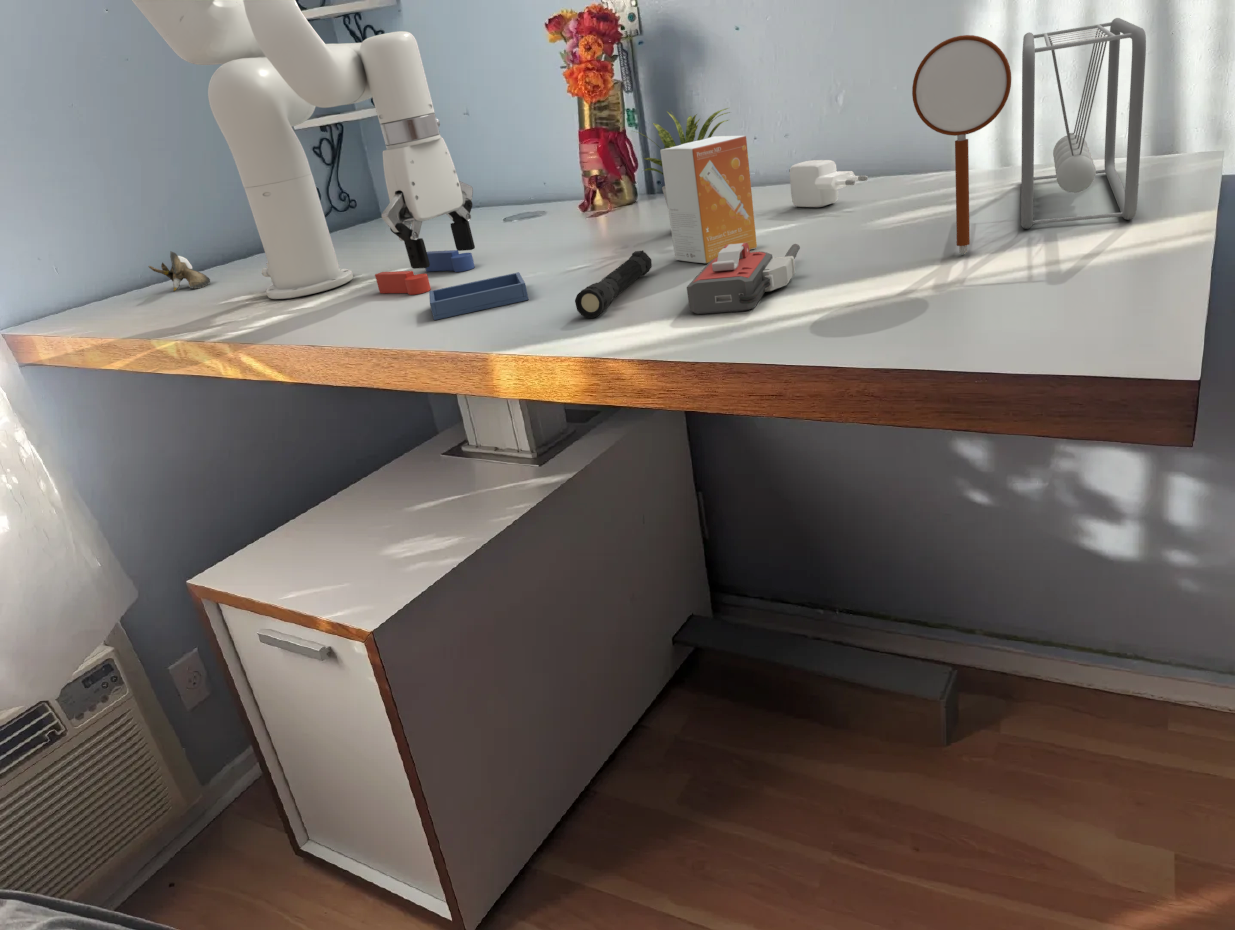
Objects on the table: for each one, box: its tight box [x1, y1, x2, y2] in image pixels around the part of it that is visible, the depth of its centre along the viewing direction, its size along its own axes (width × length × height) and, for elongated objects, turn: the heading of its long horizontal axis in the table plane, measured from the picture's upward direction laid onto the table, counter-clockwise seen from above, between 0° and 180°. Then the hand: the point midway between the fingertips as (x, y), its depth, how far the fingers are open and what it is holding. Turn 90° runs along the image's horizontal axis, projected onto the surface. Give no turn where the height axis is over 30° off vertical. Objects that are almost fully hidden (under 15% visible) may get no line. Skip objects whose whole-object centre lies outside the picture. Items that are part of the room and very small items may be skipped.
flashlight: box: [574, 250, 653, 319], centre depth 100 cm, size 3×16×3 cm, turn 160°
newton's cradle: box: [1020, 17, 1147, 230], centre depth 102 cm, size 30×10×18 cm, turn 158°
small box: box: [659, 135, 758, 264], centre depth 108 cm, size 8×6×13 cm
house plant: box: [632, 107, 731, 208], centre depth 125 cm, size 14×14×16 cm
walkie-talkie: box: [686, 243, 801, 315], centre depth 93 cm, size 9×4×20 cm
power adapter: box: [789, 159, 869, 208], centre depth 126 cm, size 11×5×6 cm, turn 37°
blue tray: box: [428, 271, 529, 321], centre depth 108 cm, size 11×7×2 cm, turn 102°
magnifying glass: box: [911, 34, 1012, 256], centre depth 88 cm, size 9×2×20 cm, turn 65°
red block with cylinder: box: [374, 270, 432, 296], centre depth 122 cm, size 8×3×3 cm, turn 57°
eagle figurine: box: [148, 250, 211, 292], centre depth 157 cm, size 8×7×9 cm
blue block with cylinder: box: [424, 249, 476, 273], centre depth 131 cm, size 8×3×3 cm, turn 57°
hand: (444, 258), depth 132 cm, fingers open, 9 cm apart
